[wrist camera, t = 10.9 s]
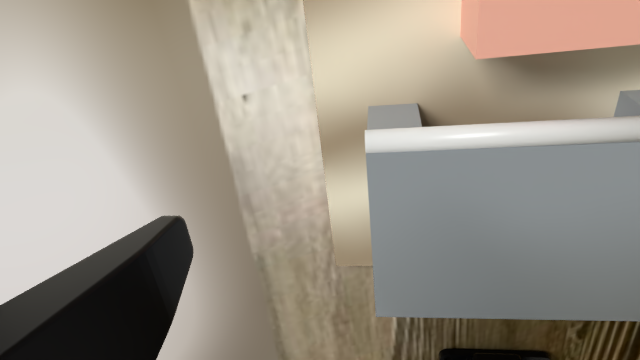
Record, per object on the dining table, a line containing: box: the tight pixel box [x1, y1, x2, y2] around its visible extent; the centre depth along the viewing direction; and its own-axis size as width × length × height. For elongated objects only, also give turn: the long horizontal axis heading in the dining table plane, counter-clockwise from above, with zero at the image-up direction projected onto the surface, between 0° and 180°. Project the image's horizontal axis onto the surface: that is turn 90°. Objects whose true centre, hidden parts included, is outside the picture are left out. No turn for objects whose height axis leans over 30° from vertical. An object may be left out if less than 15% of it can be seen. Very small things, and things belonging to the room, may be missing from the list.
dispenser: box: [365, 90, 640, 321], centre depth 17 cm, size 9×12×4 cm
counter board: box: [303, 0, 640, 266], centre depth 16 cm, size 24×16×1 cm, turn 6°
